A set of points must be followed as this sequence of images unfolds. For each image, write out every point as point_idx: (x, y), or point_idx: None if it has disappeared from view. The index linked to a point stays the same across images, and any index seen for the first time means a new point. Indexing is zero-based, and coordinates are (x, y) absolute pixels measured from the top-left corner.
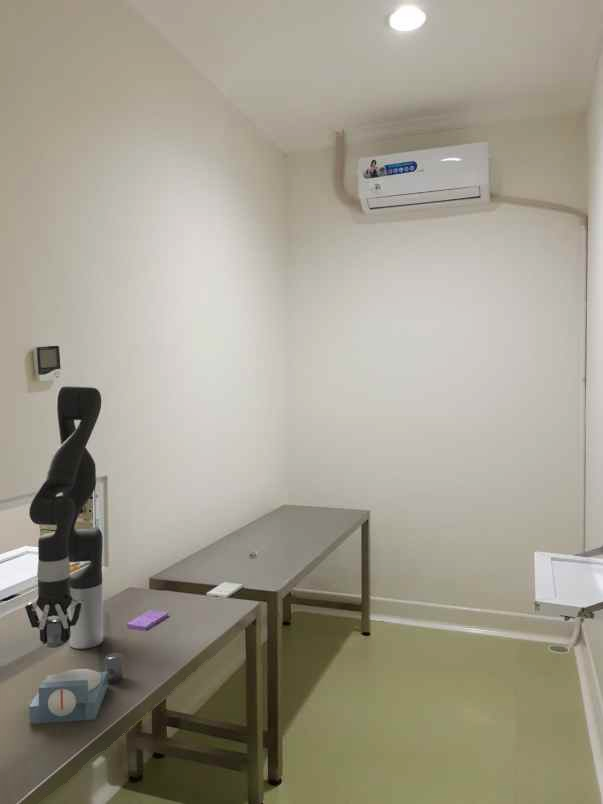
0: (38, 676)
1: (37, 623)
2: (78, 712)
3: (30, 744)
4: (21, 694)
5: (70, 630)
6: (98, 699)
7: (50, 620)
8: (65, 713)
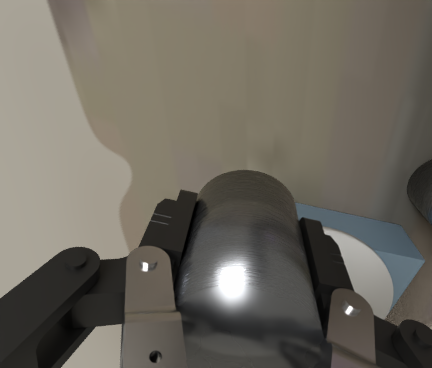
0: (178, 58)
1: (98, 321)
2: None
3: None
4: (145, 177)
5: (347, 275)
6: None
7: (200, 328)
8: None
